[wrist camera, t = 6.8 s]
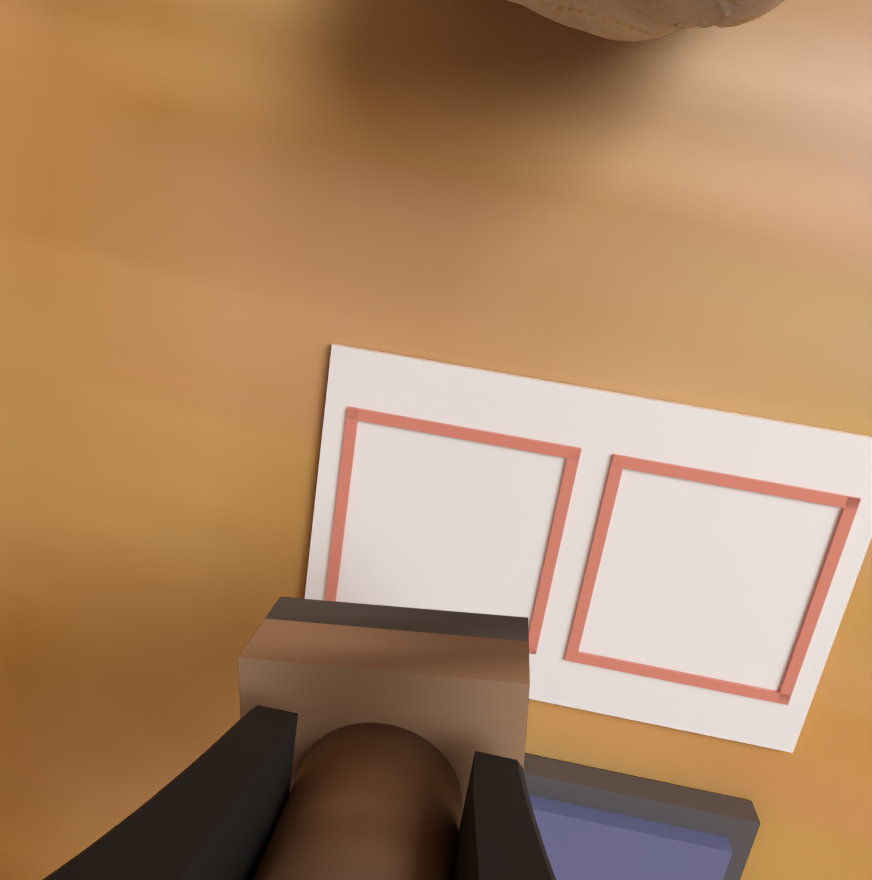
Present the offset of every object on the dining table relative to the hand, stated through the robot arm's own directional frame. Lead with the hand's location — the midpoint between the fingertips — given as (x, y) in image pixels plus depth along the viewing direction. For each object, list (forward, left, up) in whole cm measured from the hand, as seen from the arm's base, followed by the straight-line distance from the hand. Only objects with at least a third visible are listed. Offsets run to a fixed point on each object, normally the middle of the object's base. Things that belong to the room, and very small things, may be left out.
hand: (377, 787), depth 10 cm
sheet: (-3, 0, -9) cm, 10 cm away
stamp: (0, +1, -3) cm, 3 cm away
